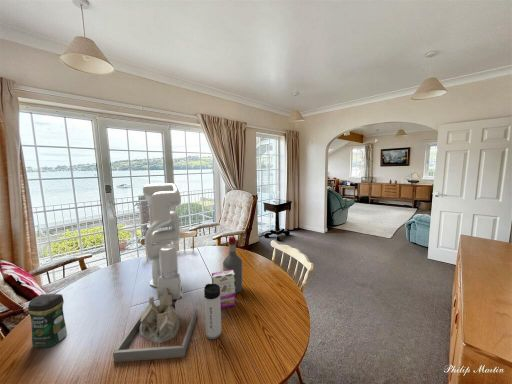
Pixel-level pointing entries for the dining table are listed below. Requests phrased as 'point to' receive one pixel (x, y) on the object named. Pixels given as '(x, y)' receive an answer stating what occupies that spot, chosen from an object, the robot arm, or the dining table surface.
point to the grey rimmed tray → (151, 353)
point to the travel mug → (212, 311)
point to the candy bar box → (226, 287)
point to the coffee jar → (47, 320)
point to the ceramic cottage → (159, 320)
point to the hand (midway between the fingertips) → (171, 311)
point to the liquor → (234, 264)
